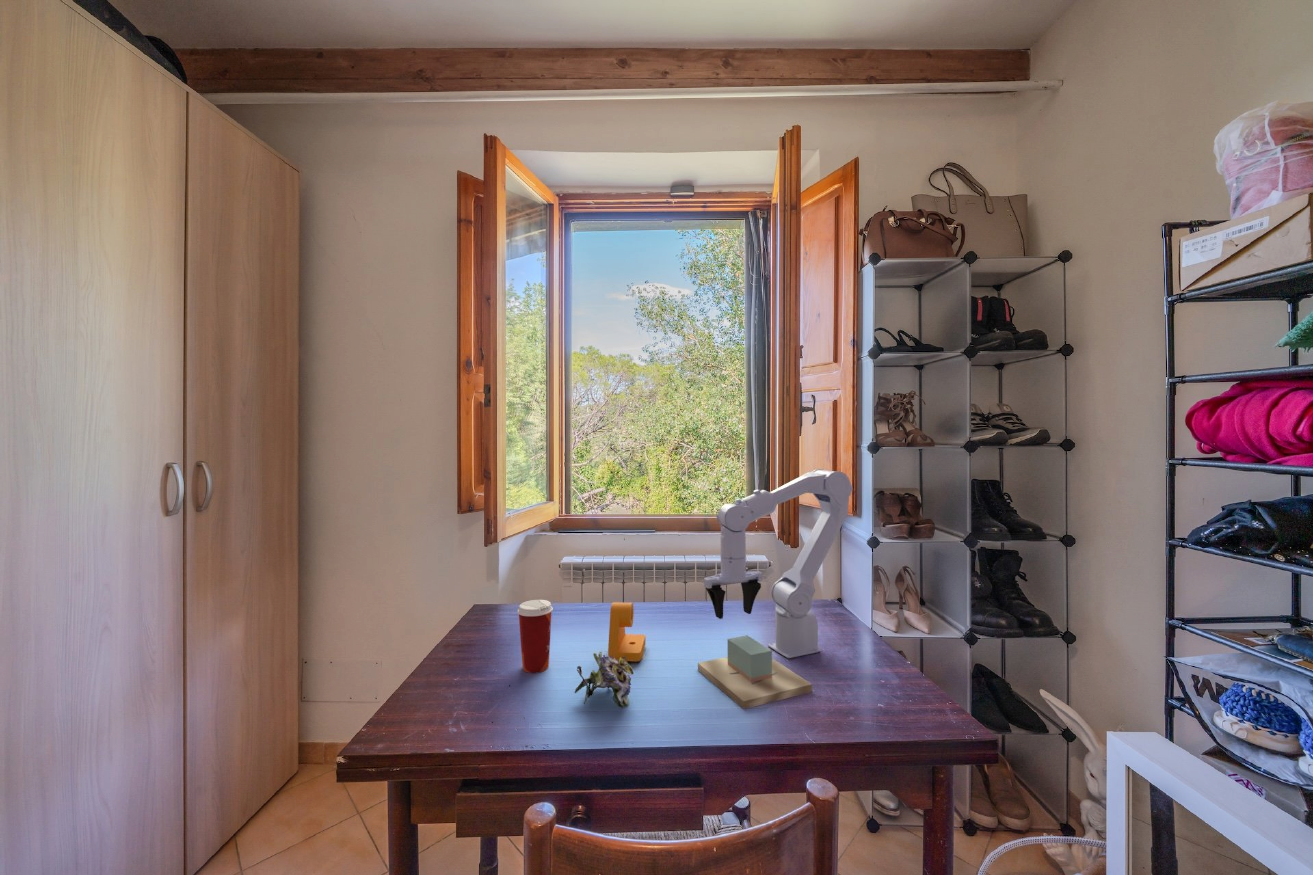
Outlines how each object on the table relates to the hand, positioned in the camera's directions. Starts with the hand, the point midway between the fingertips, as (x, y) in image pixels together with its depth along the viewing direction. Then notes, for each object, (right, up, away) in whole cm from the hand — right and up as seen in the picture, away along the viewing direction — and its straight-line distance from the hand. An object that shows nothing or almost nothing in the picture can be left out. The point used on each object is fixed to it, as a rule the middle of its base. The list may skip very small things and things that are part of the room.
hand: (733, 614), depth 122 cm
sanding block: (+2, -8, -11) cm, 14 cm away
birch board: (+2, -10, -12) cm, 16 cm away
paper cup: (-45, -10, -5) cm, 46 cm away
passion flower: (-28, -10, -21) cm, 36 cm away
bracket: (-25, -10, +1) cm, 26 cm away
